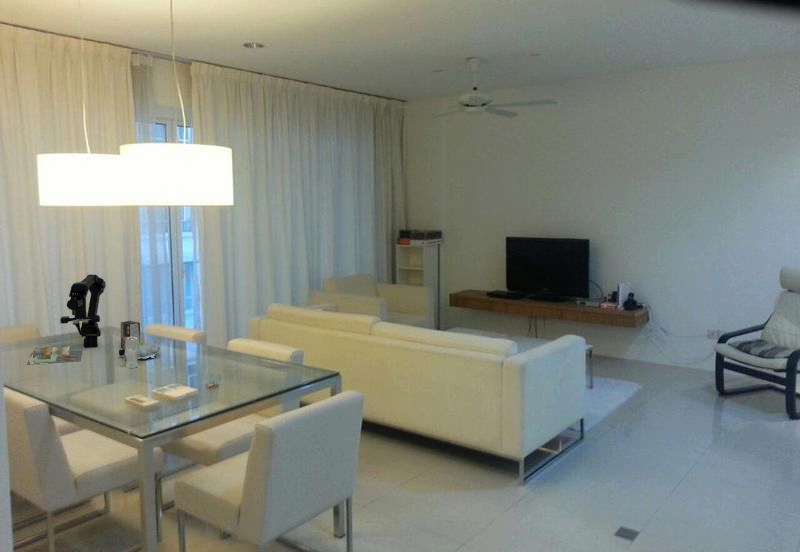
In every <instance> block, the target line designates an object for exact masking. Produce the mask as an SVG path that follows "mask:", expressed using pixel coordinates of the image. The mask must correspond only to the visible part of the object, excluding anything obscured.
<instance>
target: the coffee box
mask: <svg viewBox="0 0 800 552" xmlns="http://www.w3.org/2000/svg"><path fill="white" fill-rule="evenodd" d="M127 337H139V343H141V322H138V321H134V320H125V321H121V322H120V350H121V349H125V338H127Z"/></svg>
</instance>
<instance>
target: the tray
mask: <svg viewBox="0 0 800 552" xmlns="http://www.w3.org/2000/svg"><path fill="white" fill-rule="evenodd" d="M57 358H58V356H57V354H55V355H51V359H42V356H41V355H38V356H36V357H35V359H34V364H36V365H41V364H40V363H51V364H57V363H56V361H57Z"/></svg>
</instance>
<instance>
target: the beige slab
mask: <svg viewBox="0 0 800 552" xmlns="http://www.w3.org/2000/svg"><path fill="white" fill-rule="evenodd" d="M70 351H71V346H69V345H68V346H56V347H55V346H54V347H52V350H51V352H52V355H55V354H57V356H69V354H70Z"/></svg>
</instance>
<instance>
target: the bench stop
mask: <svg viewBox="0 0 800 552" xmlns="http://www.w3.org/2000/svg"><path fill="white" fill-rule="evenodd" d="M41 348H42V346H36V347H35V346H34V349H33V351H32V353H33V358H35V357H36V356H38V355H41Z"/></svg>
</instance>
